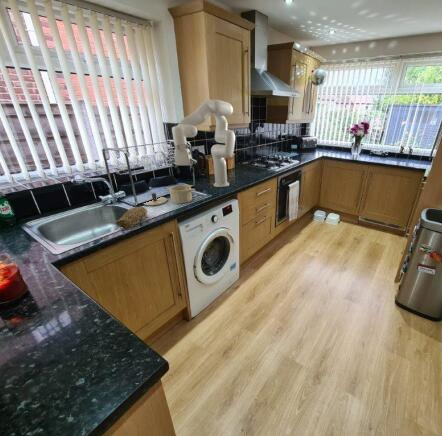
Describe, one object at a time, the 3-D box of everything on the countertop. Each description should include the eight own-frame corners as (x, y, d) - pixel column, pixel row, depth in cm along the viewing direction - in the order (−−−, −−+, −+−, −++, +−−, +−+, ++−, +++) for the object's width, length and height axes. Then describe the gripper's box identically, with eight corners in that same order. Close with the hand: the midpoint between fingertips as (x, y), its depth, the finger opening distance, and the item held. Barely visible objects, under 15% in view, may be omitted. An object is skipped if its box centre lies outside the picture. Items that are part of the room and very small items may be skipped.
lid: (150, 198, 169) (148, 189, 166) (170, 198, 167) (169, 190, 165) (138, 205, 156) (136, 196, 153) (160, 206, 154) (158, 197, 151)
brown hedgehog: (134, 232, 125) (156, 210, 140) (125, 220, 120) (150, 199, 136) (115, 233, 129) (139, 212, 145) (107, 221, 125) (132, 201, 140)
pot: (173, 196, 172) (171, 184, 169) (198, 196, 170) (197, 185, 167) (164, 202, 160) (161, 190, 157) (191, 203, 158) (190, 191, 154)
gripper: (196, 146, 155) (200, 172, 163) (170, 146, 157) (175, 172, 165) (192, 148, 149) (196, 175, 156) (165, 148, 151) (170, 175, 158)
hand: (185, 173), depth 160 cm, fingers open, 9 cm apart
